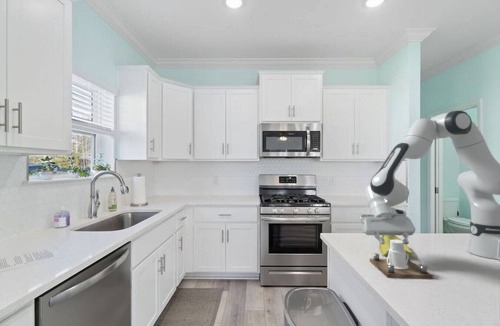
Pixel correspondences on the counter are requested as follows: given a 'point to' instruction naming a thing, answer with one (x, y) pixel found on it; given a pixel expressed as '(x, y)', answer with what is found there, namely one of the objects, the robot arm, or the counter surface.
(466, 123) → the robot arm
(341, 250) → the counter surface
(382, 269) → the pin board
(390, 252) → the recessed downlight
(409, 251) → the plastic component
